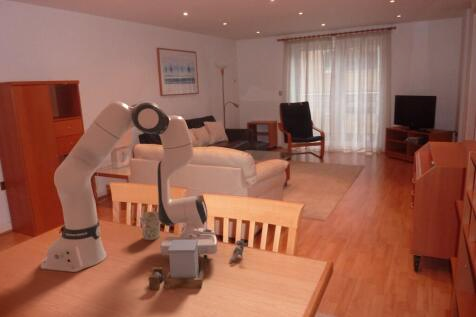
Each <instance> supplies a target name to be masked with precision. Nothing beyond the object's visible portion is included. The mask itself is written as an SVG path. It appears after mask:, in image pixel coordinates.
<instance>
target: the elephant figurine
mask: <svg viewBox="0 0 476 317" xmlns="http://www.w3.org/2000/svg"><path fill="white" fill-rule="evenodd" d="M234 244H235V245H237V246H235V248H234V249H233V255H232V256H231V258H230V259H229V260H228V261H229V262H231V263H233V262H235V261H236V260H237V257H238V256H241V259H242V260H243V257H244V256H243V253H244V247H246V246H248V245H249V243H248V242H245V240H244V239H242V240H241V239H240V240H236V241H234Z"/></svg>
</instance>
